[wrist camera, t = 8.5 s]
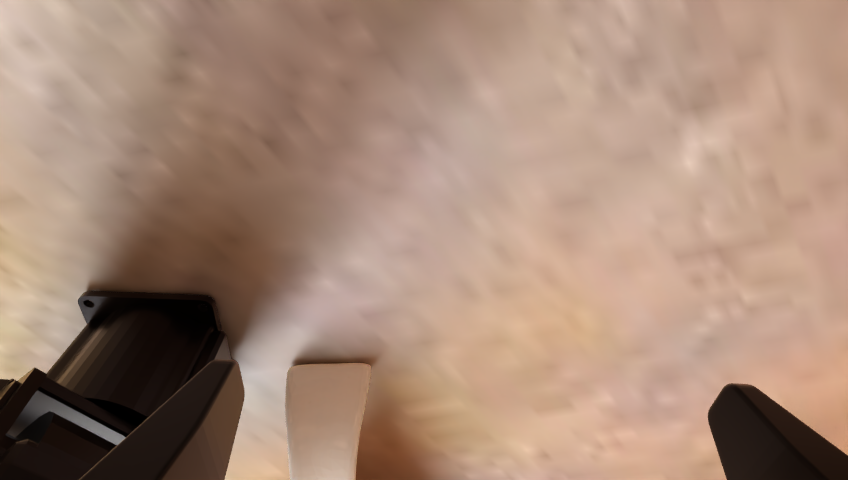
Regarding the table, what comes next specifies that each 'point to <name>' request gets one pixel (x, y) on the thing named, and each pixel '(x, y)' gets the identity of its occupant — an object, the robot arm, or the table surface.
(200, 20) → the table surface
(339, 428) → the spoon rest
